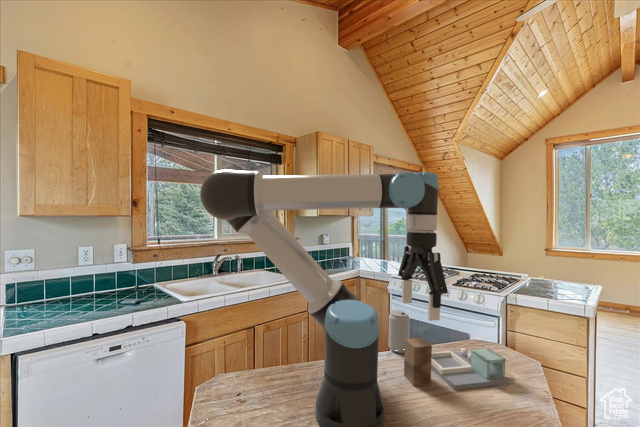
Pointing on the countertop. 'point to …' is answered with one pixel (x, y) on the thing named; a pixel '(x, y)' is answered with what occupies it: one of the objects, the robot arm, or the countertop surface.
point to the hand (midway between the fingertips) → (419, 310)
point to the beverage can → (398, 330)
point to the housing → (487, 362)
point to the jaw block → (417, 361)
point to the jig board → (462, 370)
